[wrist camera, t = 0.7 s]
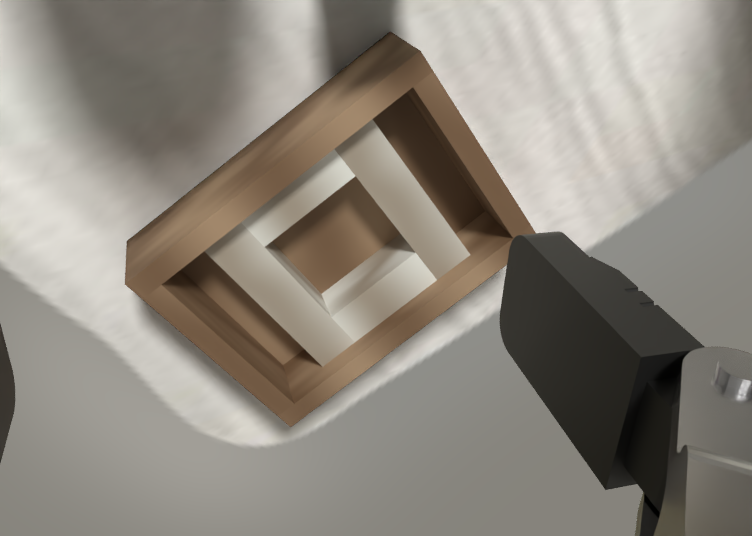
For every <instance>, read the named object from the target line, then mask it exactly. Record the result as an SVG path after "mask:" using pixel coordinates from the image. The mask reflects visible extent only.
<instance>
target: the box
mask: <svg viewBox="0 0 752 536" xmlns="http://www.w3.org/2000/svg"><path fill="white" fill-rule="evenodd" d="M525 234H536V233H535V231H534V230H533V228H532V226H531V225H530V223H529V222H528V220H527V218H526V217H525V215H524V214H523V212H522V211H521V209H520V207H519V206H518V204H517V203H516V201H515V200H514V198H513V196H512V195H511V193H510V192H509V190H508V188H507V187H506V185H505V184H504V182H503V181H502V179H501V177H500V176H499V174H498V173H497V171H496V170H495V168H494V166H493V165H492V163H491V162H490V160H489V158H488V157H487V155H486V154H485V152H484V151H483V149H482V147H481V146H480V144H479V143H478V141H477V140H476V138H475V136H474V135H473V133H472V132H471V130H470V129H469V127H468V125H467V124H466V122H465V121H464V119H463V117H462V116H461V114H460V113H459V111H458V110H457V108H456V106H455V105H454V103H453V102H452V100H451V99H450V97H449V95H448V94H447V92H446V91H445V89H444V87H443V86H442V84H441V83H440V81H439V80H438V78H437V76H436V75H435V73H434V72H433V70H432V69H431V67H430V65H429V64H428V62H427V61H426V59H425V57H424V56H423V54H422V53H421V51H420V50H418V49H417V48H415V47H413V46H412V45H410V44H409V43H407V42H406V41H404V40H402V39H401V38H399V37H398V36H396V35H395V34H393V33H392V32H389V33H388V34H387V35H386V36H384V37H383V38H382V39H380V40H379V41H378V42H377V43H375V44H374V45H373V46H372V47H370V48H369V49H368V50H367V51H365V52H364V53H363V54H362V55H360V56H359V57H358V58H357V59H355V60H354V61H353V62H352V63H350V64H349V65H348V66H347V67H345V68H344V69H343V70H342V71H340V72H339V73H338V74H337V75H335V76H334V77H333V78H331V79H330V80H329V81H328V82H326V83H325V84H324V85H323V86H321V87H320V88H319V89H318V90H316V91H315V92H314V93H313V94H311V95H310V96H309V97H308V98H306V99H305V100H304V101H303V102H301V103H300V104H299V105H298V106H296V107H295V108H294V109H293V110H291V111H290V112H289V113H287V114H286V115H285V116H284V117H282V118H281V119H280V120H279V121H277V122H276V123H275V124H274V125H272V126H271V127H270V128H269V129H267V130H266V131H265V132H264V133H262V134H261V135H260V136H259V137H257V138H256V139H255V140H254V141H252V142H251V143H250V144H249V145H247V146H246V147H245V148H243V149H242V150H241V151H240V152H238V153H237V154H236V155H235V156H233V157H232V158H231V159H230V160H228V161H227V162H226V163H225V164H223V165H222V166H221V167H220V168H218V169H217V170H216V171H215V172H213V173H212V174H211V175H210V176H208V177H207V178H206V179H205V180H203V181H202V182H201V183H200V184H198V185H197V186H196V187H194V188H193V189H192V190H191V191H189V192H188V193H187V194H186V195H184V196H183V197H182V198H181V199H179V200H178V201H177V202H176V203H174V204H173V205H172V206H171V207H169V208H168V209H167V210H166V211H164V212H163V213H162V214H161V215H159V216H158V217H157V218H156V219H154V220H153V221H152V222H150V223H149V224H148V225H147V226H145V227H144V228H143V229H142V230H140V231H139V232H138V233H137V234H135V235H134V236H133V237H132V238H130V239H129V240H128V241H127V250H126V272H125V285H127V286H128V287H129V288H130V289H131V290H132V291H134V292H135V293H136V294H137V295H138V296H139V297H140V298H142V299H143V300H144V301H145V302H146V303H147V304H149V305H150V306H151V307H152V308H153V309H154V310H156V311H157V312H158V313H159V314H160V315H161V316H162V317H164V318H165V319H166V320H167V321H168V322H169V323H171V324H172V325H173V326H174V327H175V328H176V329H178V330H179V331H180V332H181V333H182V334H183V335H184V336H186V337H187V338H188V339H189V340H190V341H191V342H193V343H194V344H195V345H196V346H197V347H198V348H200V349H201V350H202V351H203V352H204V353H205V354H206V355H208V356H209V357H210V358H211V359H212V360H213V361H215V362H216V363H217V364H218V365H219V366H220V367H222V368H223V369H224V370H225V371H226V372H227V373H229V374H230V375H231V376H232V377H233V378H234V379H235V380H237V381H238V382H239V383H240V384H241V385H242V386H244V387H245V388H246V389H247V390H248V391H249V392H251V393H252V394H253V395H254V396H255V397H256V398H257V399H259V400H260V401H261V402H262V403H263V404H264V405H266V406H267V407H268V408H269V409H270V410H271V411H273V412H274V413H275V414H276V415H277V416H278V417H279V418H281V419H282V420H283V421H284V422H285V423H286V424H288V425H289V426H290V427H292V426H293V425H294V424H296V423H297V422H298V421H300V420H301V419H302V418H304V417H305V416H306V415H307V414H309V413H310V412H311V411H313V410H314V409H315V408H317V407H318V406H319V405H321V404H322V403H323V402H325V401H326V400H327V399H329V398H330V397H331V396H333V395H334V394H335V393H337V392H338V391H339V390H341V389H342V388H343V387H345V386H346V385H347V384H349V383H350V382H351V381H353V380H354V379H355V378H357V377H358V376H359V375H361V374H362V373H363V372H365V371H366V370H367V369H369V368H370V367H371V366H373V365H374V364H375V363H377V362H378V361H379V360H381V359H382V358H383V357H385V356H386V355H387V354H389V353H390V352H391V351H393V350H394V349H395V348H397V347H398V346H399V345H401V344H402V343H403V342H405V341H406V340H407V339H408V338H410V337H411V336H412V335H414V334H415V333H416V332H418V331H419V330H420V329H422V328H423V327H424V326H426V325H427V324H428V323H430V322H431V321H432V320H434V319H435V318H436V317H438V316H439V315H440V314H442V313H443V312H444V311H446V310H447V309H448V308H450V307H451V306H452V305H454V304H455V303H456V302H458V301H459V300H460V299H462V298H463V297H464V296H466V295H467V294H468V293H470V292H471V291H472V290H474V289H475V288H476V287H478V286H479V285H480V284H482V283H483V282H484V281H486V280H487V279H488V278H490V277H491V276H492V275H494V274H495V273H496V272H498V271H499V270H500V269H502V268H503V267H504V266H506V265H507V262H508V255H509V249H510V245H511V242H512V240H513V239H514V238H515V237H516V236H518V235H525Z"/></svg>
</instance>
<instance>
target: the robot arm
mask: <svg viewBox="0 0 752 536" xmlns="http://www.w3.org/2000/svg"><path fill="white" fill-rule="evenodd" d="M500 329H501V335H502V339H503V342H504V345H505V347H506V349H507V351H508V353H509V354H510V355H511V357H512V358H513V360H514V361H515V362H516V364H517V365H518V367H519V368H520V369H521V371H522V372H523V374H524V375H525V376H526V378H527V379H528V381H529V382H530V384H531V385H532V386H533V388H534V389H535V391H536V392H537V394H538V395H539V396H540V398H541V399H542V400H543V402H544V403H545V405H546V406H547V408H548V409H549V410H550V412H551V413H552V415H553V416H554V418H555V419H556V420H557V422H558V423H559V425H560V426H561V427H562V429H563V430H564V432H565V433H566V435H567V436H568V437H569V439H570V440H571V442H572V443H573V444H574V446H575V447H576V449H577V450H578V451H579V453H580V454H581V456H582V457H583V458H584V460H585V461H586V462H587V464H588V465H589V467H590V468H591V470H592V471H593V473H594V474H595V475H596V477H597V478H598V480H599V481H600V482H601V484H602V485H603V487H604V488H605V490H607V489H613V488H618V487H623V486H628V485H634V484H638V485H639V487H640V488H641V489H642V490H643V494H642V497H641V501H640V504H639V508H638V513H637V521H636V530H635V536H752V354H750V353H748V352H744V351H741V350H737V349H732V348H726V347H704V346H703V345H702V344H701V343H700V342H698V341H697V340H696V339H695V338H694V337H693V336H692V335H691V334H690V333H688V332H687V331H686V330H685V329H684V328H683V327H681V325H679V324H678V323H677V322H676V321H675V320H674V319H673V318H672V317H670V316H669V315H668V314H667V313H666V312H665V311H664V310H663V309H662V308H660V307H659V306H658V305H654V301H653V300H651V299H650V298H649V297H648V296H647V295H646V294H645V293H643V291H638V287H637V286H636V285H635V284H634V283H632V282H631V281H630V280H629V279H628V278H627V277H626V276H625V275H623V274H622V273H621V272H620V271H619V270H617V269H615V268H613V267H611V266H609V265H607V264H605V263H603V262H601V261H599V260H597V259H595V258H593V257H589V256H588V255H586V254H585V253H584V252H583V251H582V250H581V249H580V248H579V247H578V246H577V245H576V244H575V243H573V242H572V241H571V240H570V239H569V238H568V237H567V236H566V235H565V234H563V233H562V232H548V233H537V234H525V235H518V236H516V237H515V238H514V239H513V240H512V242H511V245H510V249H509V255H508V262H507V269H506V276H505V283H504V290H503V297H502V304H501V311H500ZM14 407H15V383H14V376H13V370H12V366H11V363H10V359H9V355H8V351H7V347H6V344H5V340H4V336H3V332H2V328H1V325H0V462H1V459H2V455H3V451H4V448H5V444H6V440H7V436H8V432H9V429H10V425H11V421H12V418H13V414H14Z"/></svg>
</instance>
